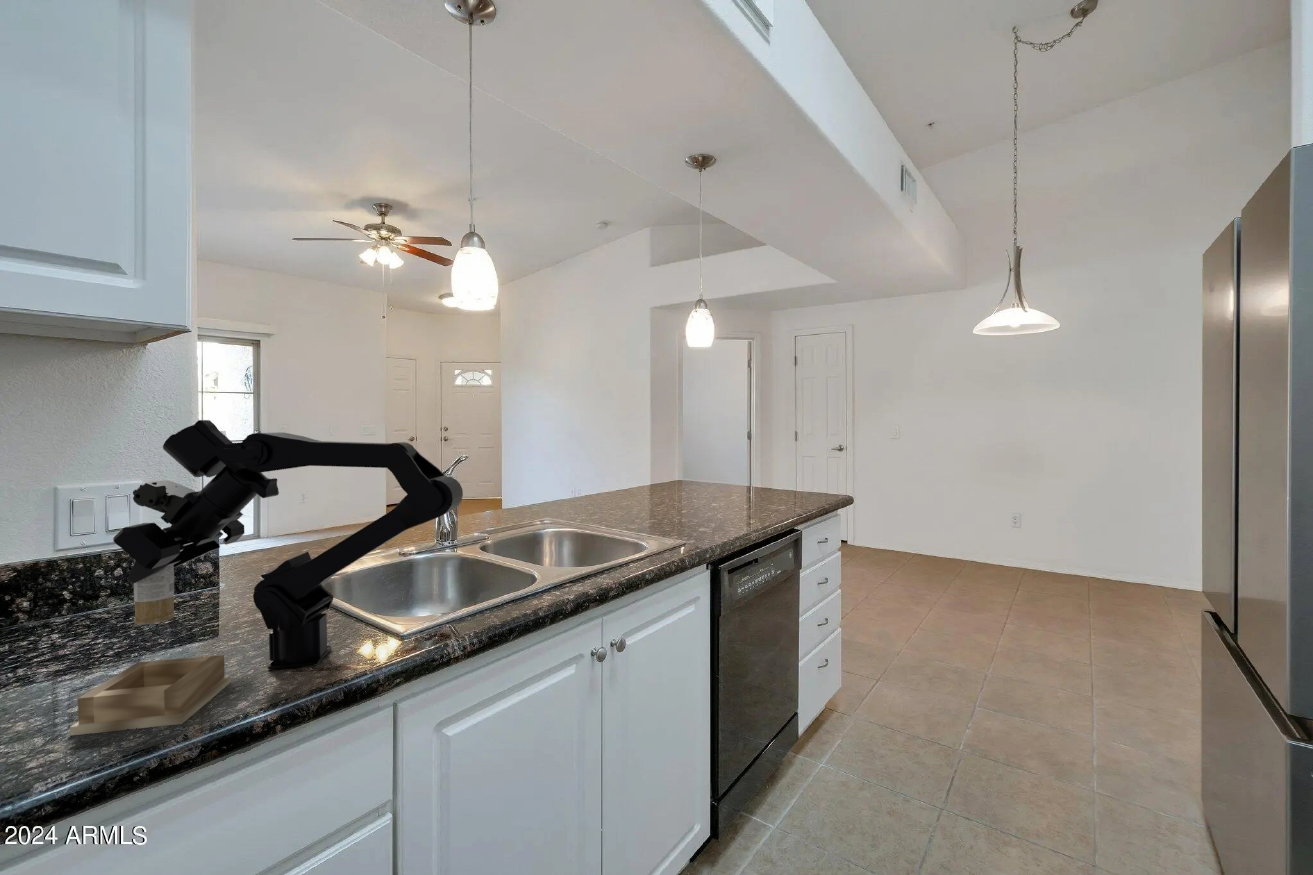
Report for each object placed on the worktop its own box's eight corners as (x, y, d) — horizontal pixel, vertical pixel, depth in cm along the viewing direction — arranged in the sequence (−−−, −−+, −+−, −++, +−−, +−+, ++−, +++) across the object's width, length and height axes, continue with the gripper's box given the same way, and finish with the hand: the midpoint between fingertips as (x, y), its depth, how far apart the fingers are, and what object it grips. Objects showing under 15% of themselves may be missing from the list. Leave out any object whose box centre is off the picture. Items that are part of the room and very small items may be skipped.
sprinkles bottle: (146, 617, 83) (144, 527, 83) (182, 614, 84) (180, 525, 85) (125, 627, 79) (123, 532, 79) (164, 624, 80) (162, 530, 80)
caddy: (230, 681, 77) (230, 653, 77) (182, 723, 66) (181, 690, 66) (136, 690, 74) (135, 661, 74) (70, 735, 64) (69, 701, 64)
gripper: (222, 457, 91) (150, 527, 90) (126, 466, 72) (35, 554, 72) (275, 504, 92) (205, 573, 91) (194, 524, 74) (105, 611, 73)
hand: (144, 576), depth 82 cm, fingers closed on sprinkles bottle, 4 cm apart
